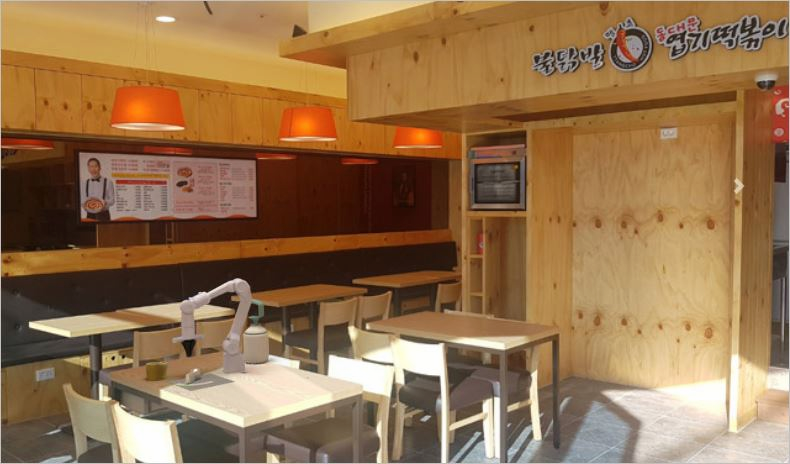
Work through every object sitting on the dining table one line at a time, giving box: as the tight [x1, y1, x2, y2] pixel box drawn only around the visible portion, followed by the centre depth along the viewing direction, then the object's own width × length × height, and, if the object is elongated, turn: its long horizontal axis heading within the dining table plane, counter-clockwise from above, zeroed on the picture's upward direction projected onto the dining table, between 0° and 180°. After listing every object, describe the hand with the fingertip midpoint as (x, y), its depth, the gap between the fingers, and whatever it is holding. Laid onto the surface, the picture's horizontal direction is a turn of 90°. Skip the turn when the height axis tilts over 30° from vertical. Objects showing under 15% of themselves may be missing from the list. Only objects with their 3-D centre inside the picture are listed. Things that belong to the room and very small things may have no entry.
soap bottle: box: [242, 298, 270, 365], centre depth 350 cm, size 12×12×31 cm
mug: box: [145, 361, 169, 382], centre depth 318 cm, size 12×10×10 cm
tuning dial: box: [185, 367, 202, 384], centre depth 309 cm, size 13×4×4 cm, turn 172°
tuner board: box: [168, 373, 236, 392], centre depth 308 cm, size 21×22×1 cm
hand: (188, 356), depth 319 cm, fingers closed
